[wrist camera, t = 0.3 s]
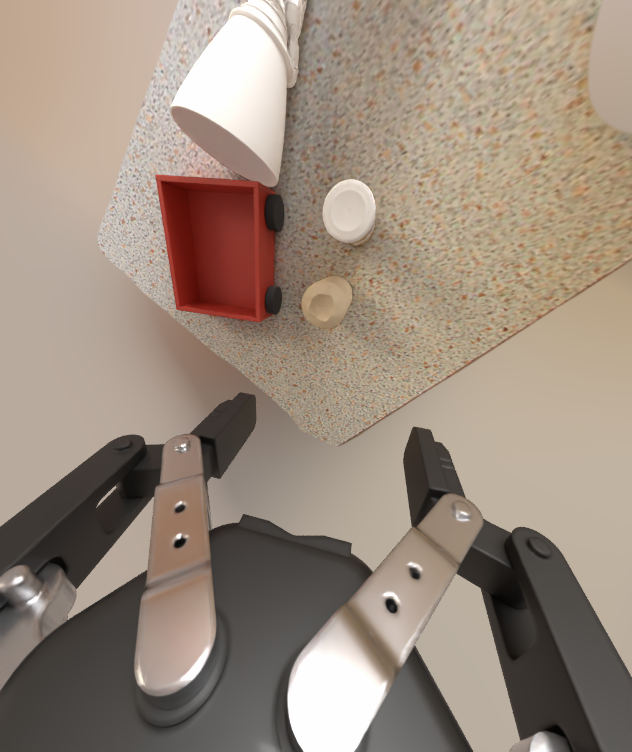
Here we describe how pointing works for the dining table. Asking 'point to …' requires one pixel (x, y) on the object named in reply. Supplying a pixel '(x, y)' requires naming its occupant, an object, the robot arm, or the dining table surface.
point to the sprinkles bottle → (350, 212)
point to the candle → (327, 301)
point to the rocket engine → (244, 89)
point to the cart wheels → (274, 223)
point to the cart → (218, 245)
